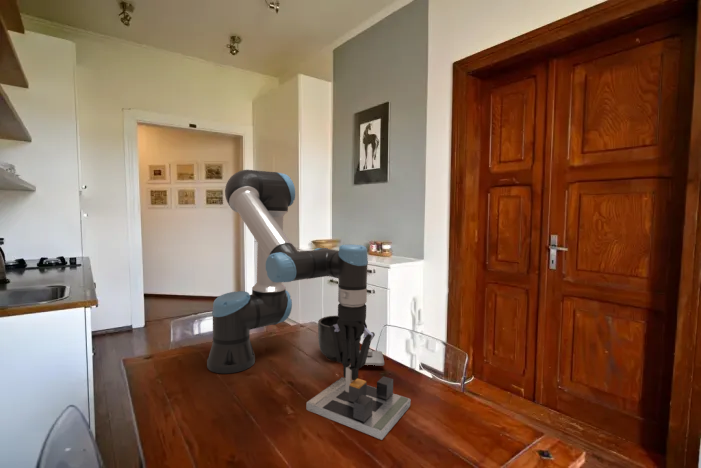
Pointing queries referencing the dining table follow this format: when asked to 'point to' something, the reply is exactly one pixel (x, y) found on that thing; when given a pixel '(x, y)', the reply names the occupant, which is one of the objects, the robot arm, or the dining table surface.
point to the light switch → (374, 358)
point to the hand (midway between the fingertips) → (350, 389)
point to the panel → (354, 423)
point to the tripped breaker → (357, 389)
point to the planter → (327, 337)
